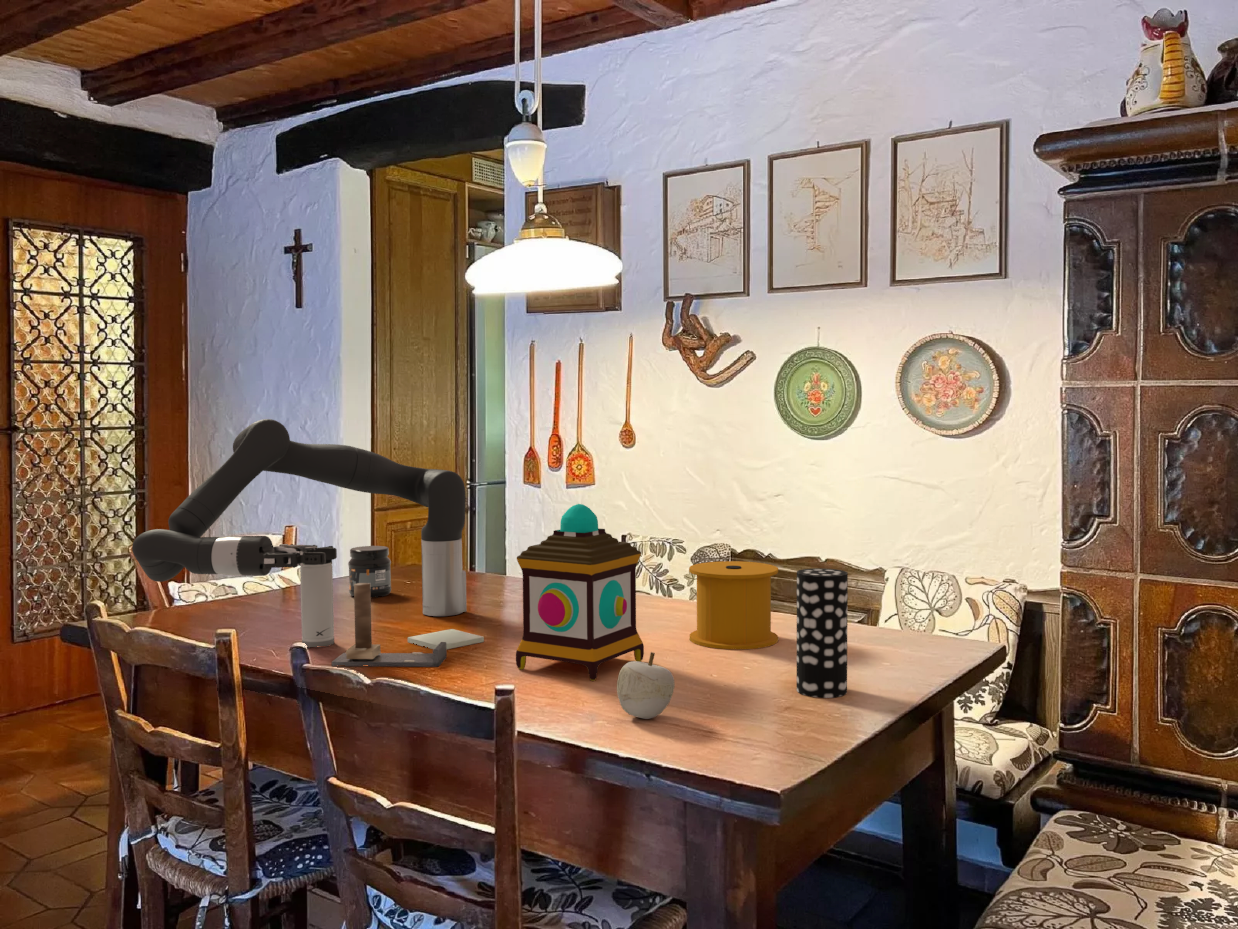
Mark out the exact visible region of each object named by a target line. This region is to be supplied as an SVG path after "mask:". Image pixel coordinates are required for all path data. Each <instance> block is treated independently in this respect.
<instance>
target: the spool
mask: <svg viewBox="0 0 1238 929" xmlns="http://www.w3.org/2000/svg"><path fill="white" fill-rule="evenodd" d="M688 571H689V573H690V574H693V575H695V576H696V630H694V631H692V632H690V634H689V641H690V642H691V643H693V644H694V645H698V646H701V647H705V648H710V649H718V650H719V649H720V650H753V649H754V650H755V649H761V648H762V649H763V648H766V647H767V648H768V647H771V646H773V645H775V644H777V643H778V641H779V636H778V634H776V632H773V631H771V629H772V627H771V626H772V624H771V623H772V622H771V620H772V618H771V617H772V612H771V611H772V604H771V603H772V599H771V598H772V597H771V595H772V594H771V593H772V592H771V591H772V584H771V583H772V576H775V575H777V574H778V573H779V568H778V566H775V565H774V564H769V563H763V562H755V561H753V562H752V561H738V560H737V561H736V560H729V561H728V560H727V561H725V560H724V561H721V560H720V561H709V562H708V561H707V562H701V563H700V562H699V563H695V564H692V565H690V566H689V570H688Z"/></svg>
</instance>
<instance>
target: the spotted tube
mask: <svg viewBox="0 0 1238 929" xmlns="http://www.w3.org/2000/svg"><path fill="white" fill-rule="evenodd" d="M848 575H849V572H847V571H845V570H842V569H835V568H820V567H818V568H802V569H799V570H797V571H796V692H797V693H799V694H800V695H802V696H806V697H812V698H818V699H819V698H820V699H828V698H829V699H832V698H833V699H834V698H840V697H843V696H845V695H847V694H848V599H849V598H848V587H849V586H848V585H849V584H848V582H849V581H848V580H849V578H848V577H849V576H848Z"/></svg>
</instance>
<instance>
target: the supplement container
mask: <svg viewBox="0 0 1238 929" xmlns="http://www.w3.org/2000/svg"><path fill="white" fill-rule="evenodd" d="M389 554H390V552H389V547H388V546H383V545H365V546H364V545H363V546H355V547H351V548H350V549H349V557H350V559H349V560H348V563H347V565H348V583H349V584H348V585H349V586H348V589H349V590H348V593H349V595H350V596H352V597H353V596H354V584H357V583H370V589H371V597H376V598H379V597H378V596H382V597H386V596H388V595H389V594H390V593H391V591H392V581H391V578H392V576H391V575H392V574H391V564H392V561H391V559H390V557H388V556H389Z"/></svg>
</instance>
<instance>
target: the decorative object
mask: <svg viewBox="0 0 1238 929" xmlns="http://www.w3.org/2000/svg"><path fill="white" fill-rule="evenodd" d="M655 655H656V654H655V652H652V651H651V652H650V654H649V659H648V662H644V661H640V662H638V661H636V660H632V661H628V662H627V663H625V664H624V665H623V666H622V667H621V669H620V670H619V673H618V678H617V681H616V692H617V693H616V695H617V698H618V701H619V704H620V706H621V708H622V710H624V712H625V713H626V714H628V715H630V716H633V717H637V718H640V719H644V720H650V719H653V718H656V717H658V715H660V714H661V713H662V712H663V711H664V710H665V709H666V708H667V706H668V705H669V704H670V701H671V700H672V696H673V695H674V694H673V693H674V691H675V677H674V675H673V673H672V672H671V671H670V670H669V669H668V668H666V667H664V666H661V665H656V664H653V662H654V658H655Z"/></svg>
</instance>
